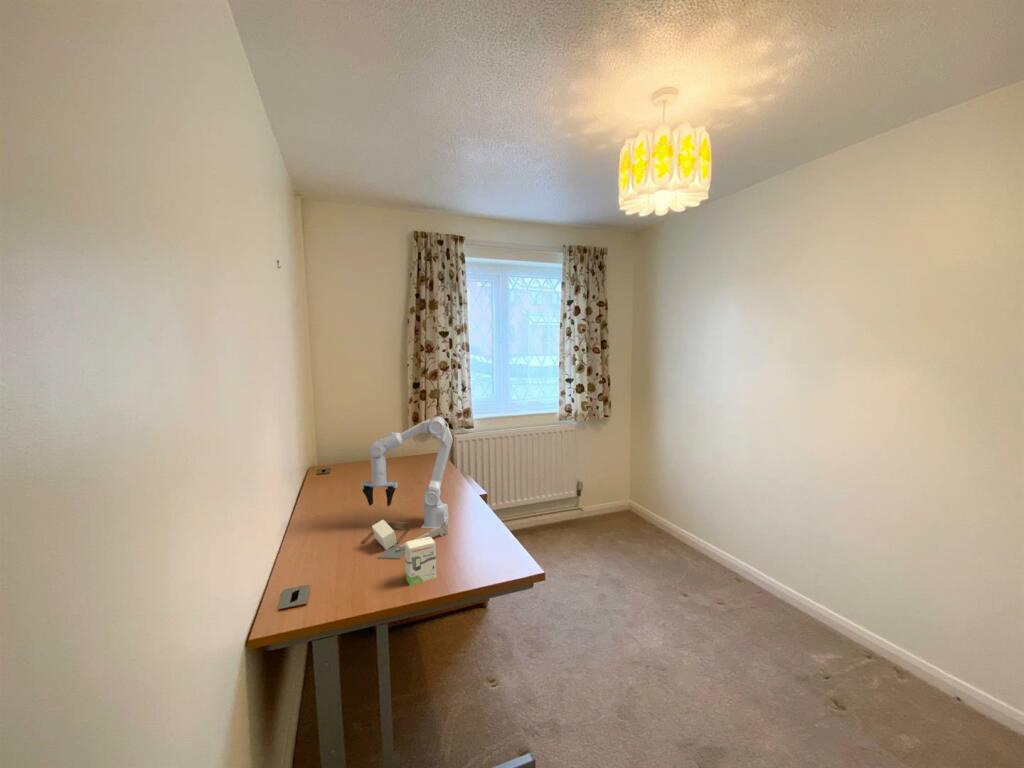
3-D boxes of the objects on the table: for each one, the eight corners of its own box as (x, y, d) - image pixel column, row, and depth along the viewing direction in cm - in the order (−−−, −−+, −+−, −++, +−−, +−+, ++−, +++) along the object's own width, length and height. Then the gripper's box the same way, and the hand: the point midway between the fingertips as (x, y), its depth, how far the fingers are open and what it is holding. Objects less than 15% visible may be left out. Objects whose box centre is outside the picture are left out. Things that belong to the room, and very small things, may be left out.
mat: (410, 548, 147) (409, 546, 146) (400, 560, 138) (400, 558, 138) (388, 547, 147) (388, 545, 147) (378, 559, 139) (377, 557, 138)
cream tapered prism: (397, 542, 146) (386, 530, 152) (394, 530, 144) (383, 519, 149) (386, 550, 144) (375, 537, 149) (382, 538, 141) (371, 526, 146)
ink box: (409, 586, 122) (408, 548, 121) (405, 578, 126) (404, 542, 125) (436, 578, 126) (435, 541, 125) (432, 571, 130) (430, 535, 129)
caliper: (446, 535, 156) (447, 520, 155) (447, 536, 155) (448, 521, 154) (395, 550, 143) (396, 534, 142) (396, 552, 142) (398, 535, 141)
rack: (409, 532, 160) (409, 522, 160) (397, 546, 148) (397, 535, 148) (376, 531, 162) (376, 521, 162) (362, 544, 150) (361, 534, 150)
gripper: (400, 469, 165) (401, 501, 165) (366, 468, 166) (367, 501, 167) (393, 474, 158) (394, 508, 158) (357, 473, 159) (359, 507, 160)
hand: (380, 504), depth 162 cm, fingers open, 7 cm apart
